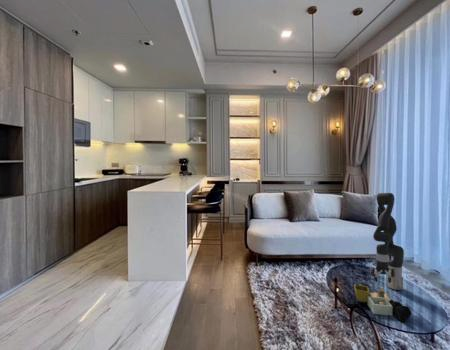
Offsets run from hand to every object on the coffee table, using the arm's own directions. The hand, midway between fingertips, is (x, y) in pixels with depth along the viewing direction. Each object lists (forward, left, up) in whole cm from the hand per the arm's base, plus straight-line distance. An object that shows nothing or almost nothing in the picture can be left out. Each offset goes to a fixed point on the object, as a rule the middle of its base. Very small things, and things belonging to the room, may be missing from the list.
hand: (382, 282), depth 178 cm
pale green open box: (+7, +14, -13) cm, 20 cm away
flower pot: (+14, +3, -14) cm, 20 cm away
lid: (+1, 0, -12) cm, 12 cm away
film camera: (-4, +19, -14) cm, 24 cm away
